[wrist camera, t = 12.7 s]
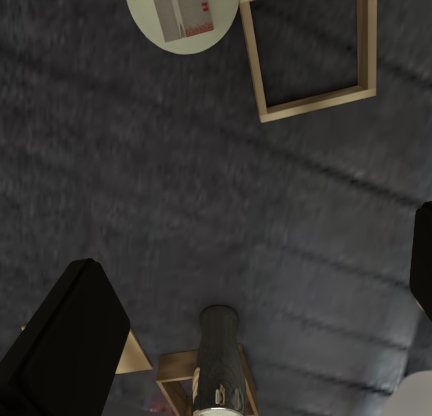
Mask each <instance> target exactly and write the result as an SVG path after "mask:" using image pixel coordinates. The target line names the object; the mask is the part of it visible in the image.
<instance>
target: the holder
mask: <svg viewBox="0 0 432 416" xmlns="http://www.w3.org/2000/svg"><path fill="white" fill-rule="evenodd" d="M252 1H255V0H239V7H240V13H241V19H242V24H243V30H244V36H245V41H246V47H247V53H248V58H249V64H250V69H251V75H252V81H253V86H254V92H255V98H256V103H257V109H258V115H259V118H260V121H261V123H263V122H268V121H272V120H276V119H280V118H284V117H288V116H292V115H297V114H301V113H305V112H309V111H313V110H317V109H322V108H326V107H330V106H334V105H338V104H342V103H346V102H351V101H355V100H359V99H363V98H367V97H371V96H376V32H377V0H357V57H358V85H357V86H353V87H349V88H345V89H341V90H337V91H333V92H329V93H325V94H321V95H317V96H312V97H308V98H304V99H300V100H296V101H292V102H288V103H284V104H280V105H276V106H272V107H268V108H266V103H265V97H264V90H263V84H262V78H261V72H260V66H259V60H258V54H257V48H256V41H255V35H254V29H253V23H252V17H251V11H250V5H249V2H252Z"/></svg>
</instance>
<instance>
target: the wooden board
mask: <svg viewBox="0 0 432 416" xmlns="http://www.w3.org/2000/svg"><path fill="white" fill-rule="evenodd" d="M25 327H26V325H24V326H22V328H21V329H22V330H24V328H25ZM152 368H153V365H152V364H151V362H150V360H149V359H148V357H147V355H146V353H145V352H144V350H143V348H142V346H141V345H140V343H139V341H138V340H137V338H136V336H135V334H134V333H133V331H132V329H131V328H130V332H129V335H128V338H127V341H126V344H125V347H124V350H123V353H122V356H121V359H120V361H119V364H118V367H117V370H116V373H115V374H119V373H126V372H133V371H140V370H147V369H152Z"/></svg>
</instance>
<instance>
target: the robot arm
mask: <svg viewBox="0 0 432 416" xmlns="http://www.w3.org/2000/svg"><path fill="white" fill-rule="evenodd" d="M409 283H410V289H411V292H412V294H413V298H414V300H415V302H416V303H417V305H418V306H419V308H421V309H422V310H423V311H424V312H425V313H426V314H427V316H428V317H429V319H430V320H431V321H432V201H429V202H425V203H424V204H423V205H422V208H420V209H417V211H416V215H415V226H414V237H413V248H412V259H411V270H410V281H409ZM129 332H130V321H129V318H128V316H127V314H126V312H125V311H124V309H123V307H122V305H121V303H120V301H119V299H118V297H117V295H116V293H115V291H114V289H113V287H112V285H111V283H110V282H109V280H108V278H107V276H106V274H105V272H104V270H103V268H102V266H101V264H100V263H99V262H95V261H94V260H93V259H91V258H88V259H82V260H76V261H72V262H71V263H70V264H69V266H68V267H67V268H66V270H65V271H64V273H63V274H62V276H61V277H60V278H59V280H58V281H57V283H56V284H55V286H54V287H53V288H52V290H51V291H50V293H49V294H48V295H47V297H46V298H45V300H44V301H43V303H42V304H41V305H40V307H39V308H38V310H37V311H36V313H35V314H34V315H33V317H32V318H31V320H30V321H29V322H28V324H27V325H26V327H25V328H24V330H23V331H22V332H21V334H20V335H19V337H18V338H17V340H16V341H15V342H14V344H13V345H12V347H11V348H10V349H9V351H8V352H7V354H6V355H5V357H4V358H3V359H2V361H1V362H0V416H101V414H102V411H103V408H104V405H105V402H106V400H107V397H108V394H109V391H110V388H111V385H112V382H113V379H114V376H115V373H116V370H117V367H118V364H119V361H120V359H121V356H122V353H123V350H124V347H125V344H126V341H127V338H128V335H129Z"/></svg>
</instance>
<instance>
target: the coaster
mask: <svg viewBox="0 0 432 416" xmlns="http://www.w3.org/2000/svg"><path fill="white" fill-rule="evenodd" d="M208 2H209V7H210V12H211V17H212V22H213V27H214V30H212V31H208V32H204V33H201V34H197V35H194V36H190V37H185V38H181V39H179V40H174V41H170V42H166V43H165V40H164V36H163V33H162V29H161V25H160V22H159V18H158V15H157V11H156V7H155V4H154V0H127V3H128V7H129V9H130V12H131V15H132V17H133V19H134V20H135V22H136V24H137V25H138V27H139V28H140V30H141V31H142V32H143V33H144V35H145V36H146V37H147V38H148V39H149V40H150V41H152V42H153V43H154V44H156V45H157V46H159V47H161V48H162V49H164V50H167V51H169V52H173V53H177V54H193V53H198V52H201V51H204V50H206V49H208V48H210V47H211V46H213V45H214V44H216V43H217V42H218V41H219V40H220V39H221V38H222V37H223V36H224V35H225V33H226V32H227V31H228V29H229V28H230V26H231V24H232V22H233V20H234V18H235V15H236V12H237V9H238V5H239V0H208Z"/></svg>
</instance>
